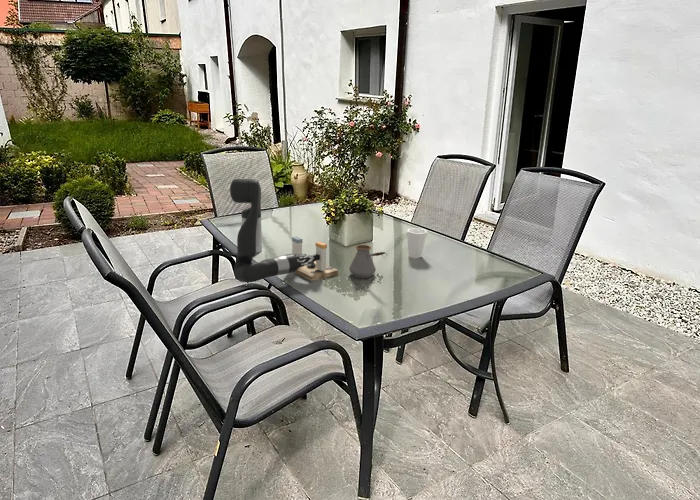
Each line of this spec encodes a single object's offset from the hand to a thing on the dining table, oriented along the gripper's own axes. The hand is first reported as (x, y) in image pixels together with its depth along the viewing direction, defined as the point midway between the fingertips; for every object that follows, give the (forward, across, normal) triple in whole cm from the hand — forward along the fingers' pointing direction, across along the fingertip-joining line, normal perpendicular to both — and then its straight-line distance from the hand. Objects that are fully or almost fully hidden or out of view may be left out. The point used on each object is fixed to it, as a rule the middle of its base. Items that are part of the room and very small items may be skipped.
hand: (318, 256), depth 197 cm
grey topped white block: (-3, +12, +6) cm, 14 cm away
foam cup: (+54, -6, +9) cm, 55 cm away
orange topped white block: (+1, 0, +6) cm, 6 cm away
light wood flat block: (0, +6, +8) cm, 10 cm away
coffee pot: (+15, -15, +9) cm, 23 cm away
